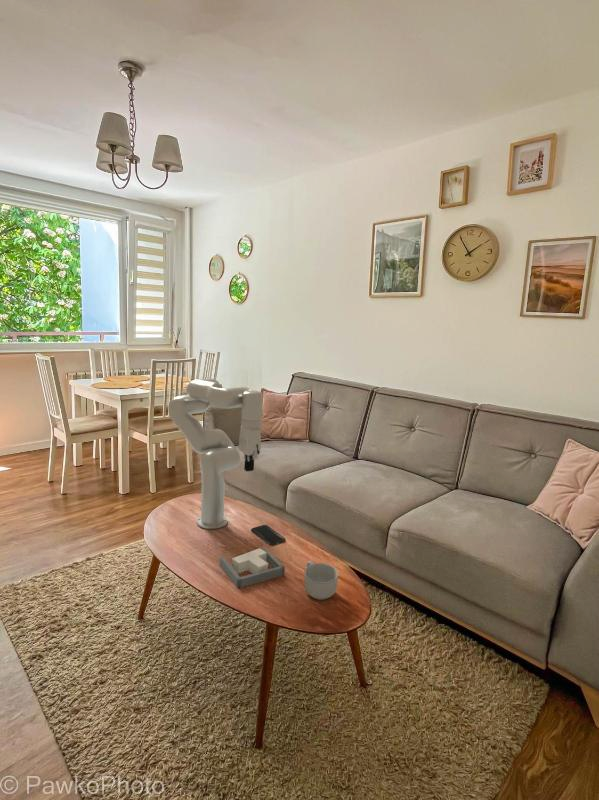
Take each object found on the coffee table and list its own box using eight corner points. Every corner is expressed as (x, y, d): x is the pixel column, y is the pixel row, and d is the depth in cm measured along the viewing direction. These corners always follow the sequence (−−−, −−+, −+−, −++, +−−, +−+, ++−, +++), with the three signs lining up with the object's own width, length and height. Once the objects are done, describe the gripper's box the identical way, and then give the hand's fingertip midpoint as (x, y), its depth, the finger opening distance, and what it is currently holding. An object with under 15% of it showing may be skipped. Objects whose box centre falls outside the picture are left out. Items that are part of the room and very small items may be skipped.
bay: (219, 565, 156) (220, 557, 155) (263, 554, 165) (264, 546, 164) (238, 588, 143) (238, 580, 143) (284, 575, 152) (284, 567, 152)
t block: (231, 568, 154) (232, 558, 153) (259, 558, 162) (259, 548, 161) (248, 582, 147) (249, 571, 146) (276, 570, 155) (277, 559, 154)
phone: (265, 524, 187) (286, 539, 176) (265, 526, 188) (286, 541, 176) (249, 528, 183) (270, 544, 171) (249, 531, 183) (270, 547, 171)
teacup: (341, 602, 140) (343, 579, 138) (308, 606, 137) (310, 582, 135) (326, 577, 153) (328, 556, 151) (296, 580, 150) (297, 558, 148)
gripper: (233, 419, 170) (231, 465, 173) (251, 429, 157) (248, 478, 161) (251, 418, 174) (249, 463, 177) (269, 427, 161) (266, 475, 165)
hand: (248, 470), depth 169 cm, fingers closed
